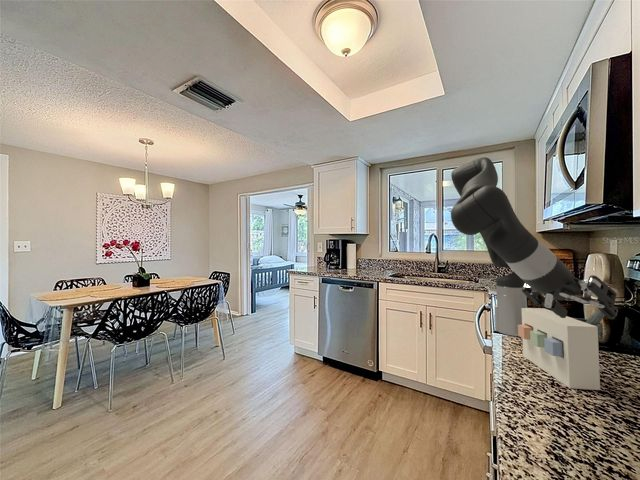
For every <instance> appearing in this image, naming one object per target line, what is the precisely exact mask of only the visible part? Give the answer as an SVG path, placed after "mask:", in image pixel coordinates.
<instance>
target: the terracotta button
mask: <svg viewBox="0 0 640 480" xmlns="http://www.w3.org/2000/svg"><path fill="white" fill-rule="evenodd" d="M530 331H532V328H531V327H529V326H527V325H518V336H517V337H520V338H522V340H523V339H529V340H530Z"/></svg>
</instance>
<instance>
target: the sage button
mask: <svg viewBox="0 0 640 480" xmlns="http://www.w3.org/2000/svg"><path fill="white" fill-rule="evenodd" d="M544 338H546V334H544V333H542V332H539V331H530V343H532V344H533V345H535V346H537V347H544Z"/></svg>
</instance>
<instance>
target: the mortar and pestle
mask: <svg viewBox="0 0 640 480" xmlns="http://www.w3.org/2000/svg"><path fill="white" fill-rule="evenodd" d="M604 317H606V316H605V315H604V314H603V313H602V312H601V311H600V310H599V309H598V307H596V308H595V311H594V312H593V313H592V315H590V317H588V318H587V319H586V318H577V317H573V318H574V319H576V320H579V321H582V322H585V323H588V324H591V325H594V326H597V327H598V338H599V337H600V336H601V334H602V333H603V323H601V321H602V320H603V319H604Z"/></svg>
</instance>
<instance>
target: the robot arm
mask: <svg viewBox="0 0 640 480" xmlns="http://www.w3.org/2000/svg"><path fill="white" fill-rule="evenodd" d="M450 175H451V181H452V183H453V187H454V188H455V189H456V192H457V194H458V195H459V196H460V197H459V198H458V200H457V201H456V202H455V203H454V205H453V206H452V208H451V211H450V212H451V213H450V218H451V222H452V225H453V226H454V228H455V229H456V230H457V231H458V232H460V233H461V234H463V235H467V236H474V235H478V234H480V236H481V238H482V240H483V242H484V245H485V246H486V249H487V252H488V255H489V259H490V261H491V263H492V264H493V265H494V266H495V267H496V268H497V267H498V268H505V269H508V268H509V269H511V271H512V272H511V273H509V274H508V275H504V276H499V277H497V278H496V279H495V280H496V282H495V284H496V285H495V286H496V304H495V305H494V330H495V332H499V333H500V334H503V335H506V336H507V335H508V336H511V337H513V336H514V337H519V336H518V325H522V308H528V301H527V299H529V300H530V301H531V303H533V304H534V305H535V306H536V307H541V306H544V307H545V308H546V309H549V310H550V311H553V312H554V313H555V314H556V315H558V316H560V317H561V318H566V316H568V310H567V309H566V308H565V307H564V305H562V304H561V303H560V302H559V301H576V302H578V303H581V304H583V305H587V304H589V305H592V306H594V307H596V308H598V309H599V310H600V311H601V312H602V313H603V314H604V315H605V316H604V317H606V318H607V319H608V320H615V318H616V317H617V315H618V311H619V310H618V309H617V307H616V306H615V304H616V303H615V302H616V300H617V295H618V294H617V292H615V291H614V290H613V289H612V288H611V287H610V286H609V285H607V284H606V283H605V282H604V281H603V280H602V279H601V278H599V276H596V275H594V274H593V275H589V277H588V278H587V279H580V278H577V277H575V276H574V275H573V274H572V272H571V270H570V268H569V267H568V266H567V265H566V264H565V263H564V262H562V260H560V258H559V257H557V256H556V255H555V253H553V252H552V251H551V249H550V248H549V247H548V246H547V245H545V244H543V243H542V242H540V241H539V240H538V239H537V238H536V236H535V235H533V234H532V233H531V232H530V231H529V230H528V229H527V227H525V226H524V225H523V223H522V222H521V221H520V220H519V218H518V217H517V215H516V213H515V210H514V208H513V206H512V203H511V201H510V200H509V197H508V195H506V193H505V192H504V191H503V190H502V189H501V188H499V187H498V183H499V176H498V172H497V170H496V166H495V164H494V162H493V161H492V160H491V159H490V158H489V157H486V156H483V157H478V158H475V159H474V160H471V161H469V162H466V163H464V164H461V165H459V166H458V167H457V166H456V167H455V168H454V169H453V170H452V171H451V174H450ZM581 291H583V292H584V294H583V296H581V295H580V294H581ZM544 296H545V297H544ZM592 297H593V298H596V299H597V300H596V299H593V298H592Z"/></svg>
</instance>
